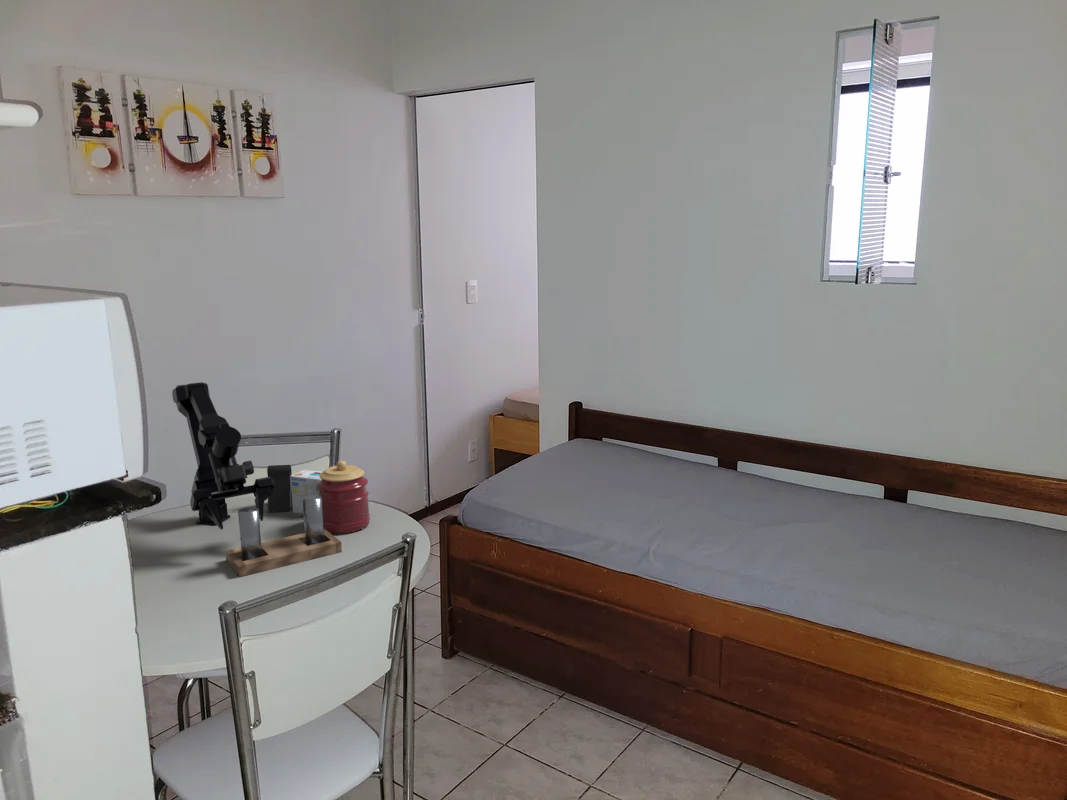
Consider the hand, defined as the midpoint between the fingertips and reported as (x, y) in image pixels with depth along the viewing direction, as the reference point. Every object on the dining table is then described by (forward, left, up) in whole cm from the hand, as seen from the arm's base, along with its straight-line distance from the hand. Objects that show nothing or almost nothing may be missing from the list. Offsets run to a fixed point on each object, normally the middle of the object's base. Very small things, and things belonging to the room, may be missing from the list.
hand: (242, 524), depth 187 cm
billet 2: (+14, +8, -8) cm, 18 cm away
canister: (+14, +24, -8) cm, 29 cm away
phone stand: (-10, +33, -8) cm, 35 cm away
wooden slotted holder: (+10, +2, -8) cm, 12 cm away
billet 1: (+5, -4, -8) cm, 10 cm away
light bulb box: (+1, +32, -8) cm, 33 cm away
